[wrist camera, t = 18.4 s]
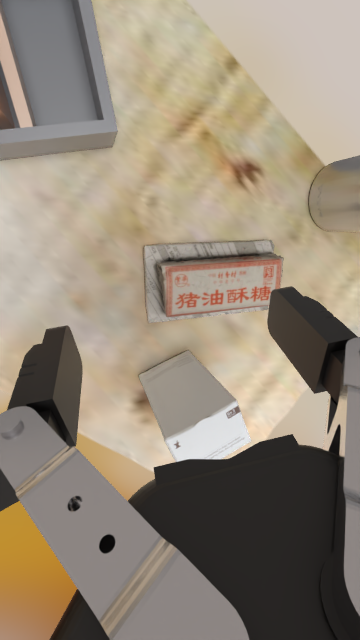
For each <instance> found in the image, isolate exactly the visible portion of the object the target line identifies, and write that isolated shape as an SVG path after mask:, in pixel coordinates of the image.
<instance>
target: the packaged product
mask: <svg viewBox="0 0 360 640" xmlns="http://www.w3.org/2000/svg"><path fill="white" fill-rule="evenodd" d="M273 251H274V244H273V242H272V240H261V241H231V242H200V243H173V244H155V245H148V246H144V268H145V297H146V311H147V317H148V322H149V323H152V322H164V321H172V320H179V319H189V318H198V317H207V316H217V315H221V314H233V313H241V312H250V311H259V310H267V309H269V308H268V307H269V304H270V295H271V292H272V290H274V289H280V282H281V277H282V271H283V270H282V266H283V260H284V258H283V257H281V256H277V255H276V254H273Z"/></svg>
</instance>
